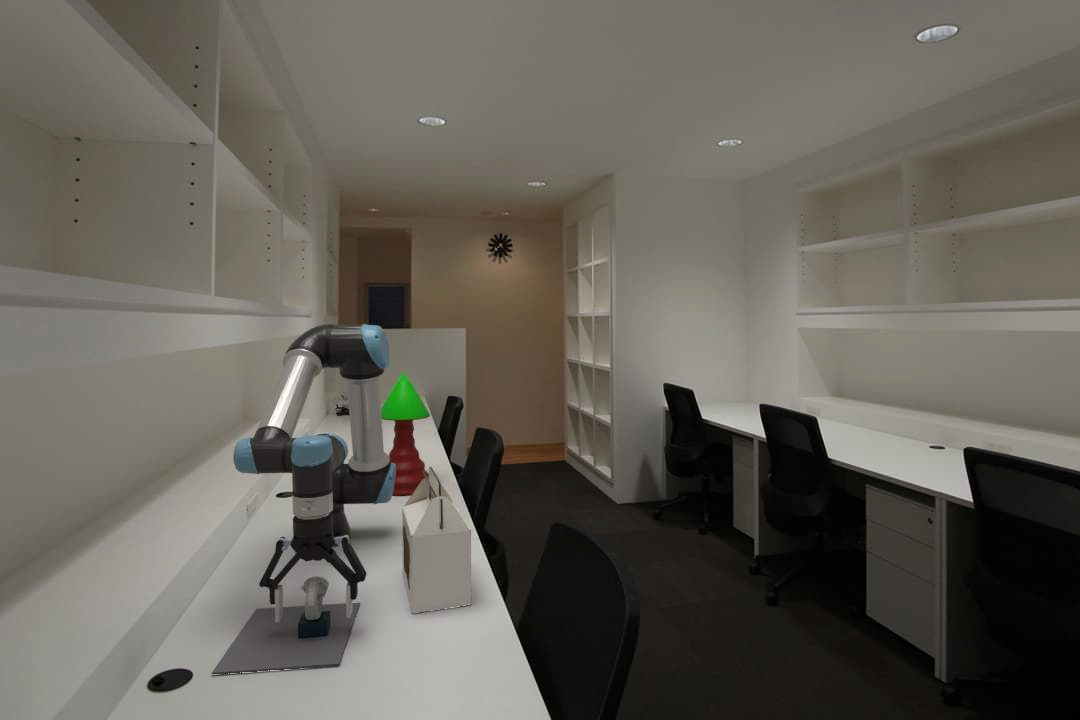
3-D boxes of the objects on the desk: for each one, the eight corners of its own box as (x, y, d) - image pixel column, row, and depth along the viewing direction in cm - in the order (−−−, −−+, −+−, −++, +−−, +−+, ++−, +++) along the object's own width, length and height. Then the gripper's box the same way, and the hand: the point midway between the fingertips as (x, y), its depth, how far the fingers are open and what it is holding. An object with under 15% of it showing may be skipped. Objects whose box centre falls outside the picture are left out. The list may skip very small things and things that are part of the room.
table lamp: (373, 485, 230) (372, 370, 227) (423, 479, 238) (423, 369, 235) (382, 498, 212) (381, 375, 209) (436, 492, 220) (436, 373, 217)
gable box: (402, 573, 148) (401, 465, 147) (454, 567, 153) (454, 461, 151) (411, 615, 127) (410, 488, 126) (471, 606, 131) (471, 484, 130)
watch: (331, 620, 123) (330, 569, 123) (326, 640, 116) (325, 586, 115) (303, 623, 122) (302, 571, 122) (295, 643, 114) (295, 589, 114)
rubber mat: (256, 611, 128) (256, 608, 128) (360, 605, 132) (360, 602, 132) (211, 676, 105) (211, 672, 105) (339, 666, 108) (339, 663, 108)
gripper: (240, 522, 112) (242, 630, 113) (374, 517, 115) (375, 621, 117) (253, 510, 119) (255, 611, 120) (379, 505, 123) (380, 604, 124)
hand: (314, 616), depth 119 cm, fingers open, 13 cm apart
